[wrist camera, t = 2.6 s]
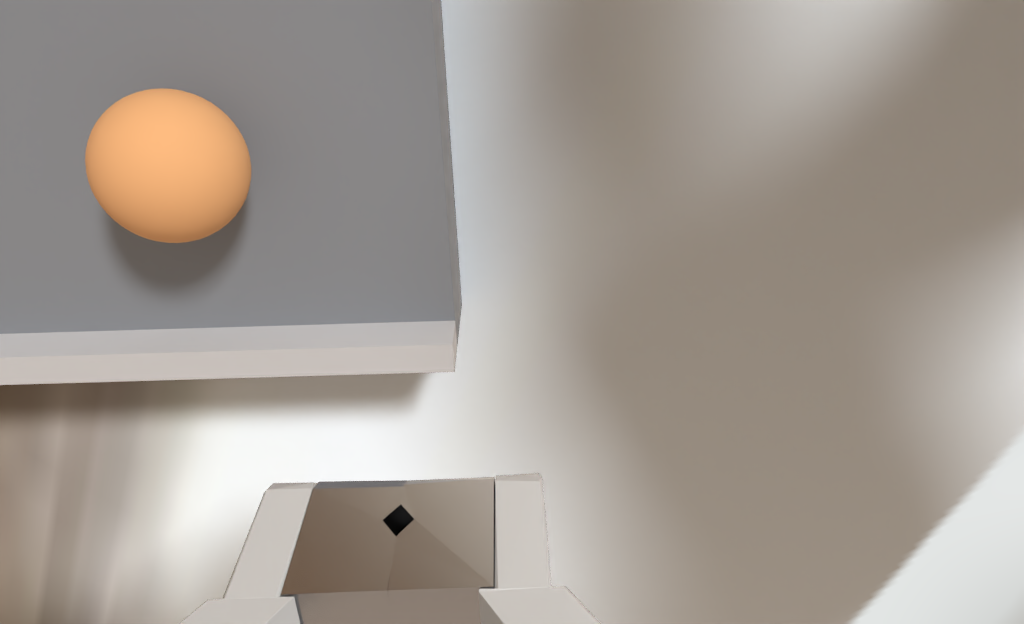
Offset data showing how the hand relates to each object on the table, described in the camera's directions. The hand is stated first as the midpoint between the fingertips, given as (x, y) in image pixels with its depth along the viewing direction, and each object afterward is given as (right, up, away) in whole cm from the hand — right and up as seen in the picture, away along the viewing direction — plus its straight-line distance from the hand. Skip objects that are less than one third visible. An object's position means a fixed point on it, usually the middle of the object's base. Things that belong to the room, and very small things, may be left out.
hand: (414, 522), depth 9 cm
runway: (-12, +8, +16) cm, 22 cm away
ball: (-8, +6, +12) cm, 15 cm away
